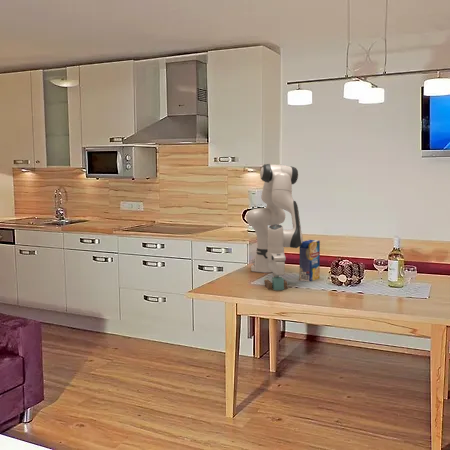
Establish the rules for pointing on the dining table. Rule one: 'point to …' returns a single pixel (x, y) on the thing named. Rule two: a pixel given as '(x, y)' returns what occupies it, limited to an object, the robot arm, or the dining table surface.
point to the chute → (269, 284)
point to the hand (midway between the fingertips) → (276, 280)
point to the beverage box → (310, 260)
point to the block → (277, 283)
